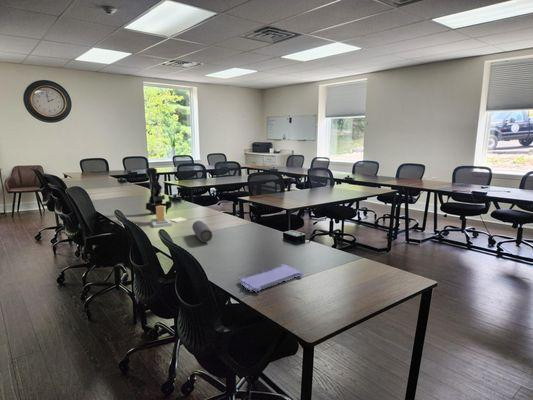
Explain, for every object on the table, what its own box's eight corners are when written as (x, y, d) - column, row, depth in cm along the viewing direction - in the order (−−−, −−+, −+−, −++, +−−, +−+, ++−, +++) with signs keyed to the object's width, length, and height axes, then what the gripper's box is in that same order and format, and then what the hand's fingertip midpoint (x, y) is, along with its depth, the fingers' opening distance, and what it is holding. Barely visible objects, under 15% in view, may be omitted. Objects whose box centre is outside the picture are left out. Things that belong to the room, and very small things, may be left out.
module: (156, 222, 256) (155, 205, 253) (163, 221, 258) (162, 205, 255) (157, 224, 251) (156, 207, 249) (164, 223, 253) (163, 206, 251)
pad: (169, 220, 262) (169, 219, 262) (179, 217, 270) (179, 217, 270) (176, 222, 256) (176, 221, 256) (187, 220, 264) (187, 219, 263)
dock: (150, 221, 258) (150, 218, 257) (167, 220, 263) (167, 217, 263) (153, 227, 242) (153, 224, 241) (172, 225, 247) (171, 222, 247)
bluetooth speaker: (191, 234, 226) (191, 220, 224) (205, 233, 229) (204, 219, 227) (198, 244, 205) (198, 229, 203) (213, 243, 209) (213, 227, 207)
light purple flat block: (234, 284, 153) (254, 296, 141) (234, 275, 152) (254, 287, 141) (283, 268, 171) (304, 278, 160) (283, 260, 171) (304, 269, 159)
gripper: (145, 192, 250) (147, 209, 242) (170, 190, 258) (173, 207, 250) (144, 200, 258) (147, 217, 250) (169, 199, 266) (172, 215, 258)
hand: (160, 214), depth 252 cm, fingers open, 9 cm apart
